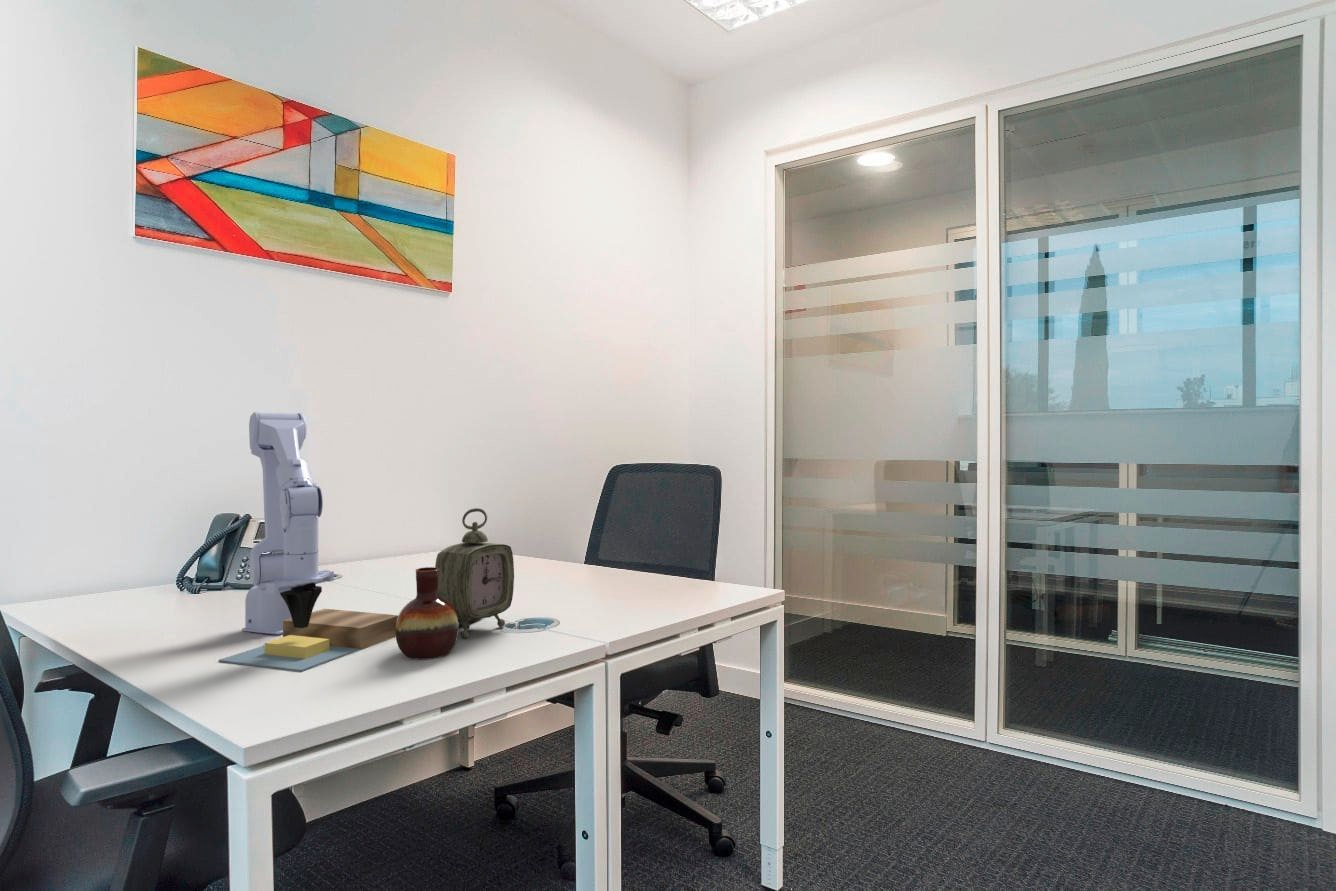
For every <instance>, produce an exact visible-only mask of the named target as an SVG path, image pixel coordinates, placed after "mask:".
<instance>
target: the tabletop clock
mask: <svg viewBox="0 0 1336 891" xmlns="http://www.w3.org/2000/svg"><path fill="white" fill-rule="evenodd" d="M474 512H475V513H477V512H479V513H482V514H483V515H484V521H483V522H482V523H480V524H478V522H476V521H474V522H472V523H471V526H470V525H468V524H466V521H465V520H466V517H467V516H468V515H469V514H471V513H474ZM487 521H488V515H487V512H486V511H485V510H484V509H481V508H477V507H475V508H471V509H468V510H467V511H466V512H465V513H464V515H463V516H462V520H461V523H462V526H463V527H464V528H465V529H466V530H469V531H467V532H466V533H465V534H464V535H463V536H462V538H461V543H457V544H453V545H449V546H448V547H446V548H444V549H442V550H441V551H439V552H438V553H437V555H436V559H435V563H434V564H435V566H434V567H435V568H439V580H438V596H439V597H440V598H442V599H444V600H445V601H447V602H448V603H449V604H450V605H451V606H452V607H453V609H454V610H455V612H456V614H457V617H461V619H462V622H463V624H462V627H461V629H462V630H461V631H460V637H461V638H462V639H467V638H468V637H469V635H470V632H469V631H468V630H470V627H471V626H470V624H471V623H470V624H469V623H468V621H469V619H479V620H481V619H482V620H483V619H487V618H491V617H494V618H495V619H496V620H497V622H496V625H497V626H498V627H500V628H502V627H503V628H504V627H505V624H506V620H505V619H502V618H500V617H499V616H500V615H499V614H502V613H504V612H505V611H507V610H508V609H510V607H511V605H512V602H513V596H514V588H515V587H514V586H515V584H514V583H515V567H514V566H515V565H514V555H513V550H512V547H511V546H510V545H507V544H502V543H494V542H493V543H491V542H489V539H488V537H487V535H486V534H485V533H484V532H483V531H482V530H479V529H481V528H483V527H484V526H485V525H486V523H487Z"/></svg>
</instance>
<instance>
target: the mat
mask: <svg viewBox="0 0 1336 891" xmlns="http://www.w3.org/2000/svg"><path fill="white" fill-rule="evenodd" d="M359 651H360V650H359V649H357V648H347V647H338V646H330V650H328V651H325V652H322V653H320V654H317V655H314V656H311V657H309V658H306V659H304V658H295V657H286V656H277V655H268V654H264V645H261V646H258V647H255V648H252V649H248V650H245V651H243V652H239V653H236V654H233V655H230V656H226V657H224V658H220V659H218V662H220V663H226V662H227V664H237V665H244V666H252V667H259V668H269V669H277V670H285V671H292V672H294V671H295V672H300V673H301V672H305V671H307V670H310V669H312V668H315V667H318V666H321V665H324V664H327V663H329V662H332V661H334V660H337V659H339V658H341V657H344V656H348V655H350V654H352V653H356V652H359Z"/></svg>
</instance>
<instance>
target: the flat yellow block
mask: <svg viewBox="0 0 1336 891" xmlns="http://www.w3.org/2000/svg"><path fill="white" fill-rule="evenodd" d="M263 644H264V645H263V646H264V654H268V655H277V656H286V657H295V658H304V659H306V658H309V657H311V656H314V655H317V654H320V653H322V652H325V651H328V650H330V639H324V638H314V637H305V636H295V635H288V636H285V637H283V636H282V637H279V638H276V639H273V640H269V641H266V642H264V643H263Z"/></svg>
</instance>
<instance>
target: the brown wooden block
mask: <svg viewBox="0 0 1336 891" xmlns="http://www.w3.org/2000/svg"><path fill="white" fill-rule="evenodd" d="M398 615H399V614H398ZM398 615H396V614H390V613H389V614H388V613H387V614H386V613H376V612H365V611H354V610H353V611H352V610H342V609H332V608H322V609H318V610H316V611H315V610H314V611H312V614H311V617H310V621H309V625H308V627H305V628H295V627H294V625H293V621H292V618H290V619H286V620H283V633H282V637H285V636H288V635H295V636H305V637H314V638H324V639H330V646H338V647H347V648H357V649H359V650H358V651H360V650H363V649H366V648H368V647H371V646H375V645H377V644H379V643H382V642H384V641H387V640H391V639H393V638H396V636H395V625H396V621H397V618H398Z"/></svg>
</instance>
